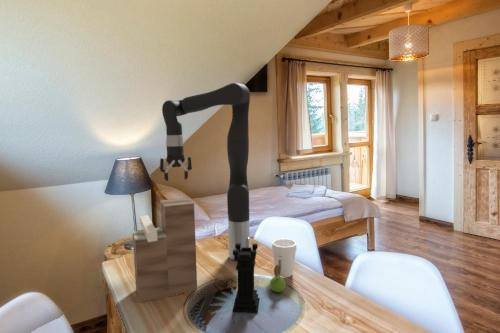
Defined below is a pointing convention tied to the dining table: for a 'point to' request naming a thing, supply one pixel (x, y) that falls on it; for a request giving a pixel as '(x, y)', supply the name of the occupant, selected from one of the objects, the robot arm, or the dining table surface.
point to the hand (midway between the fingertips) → (176, 179)
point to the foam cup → (284, 255)
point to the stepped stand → (167, 253)
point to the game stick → (148, 228)
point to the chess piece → (245, 279)
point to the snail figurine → (277, 278)
